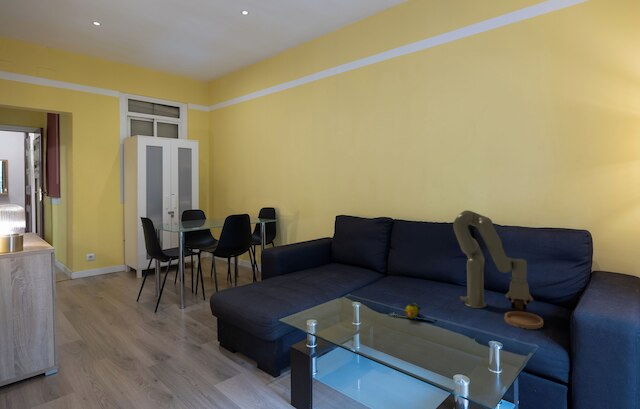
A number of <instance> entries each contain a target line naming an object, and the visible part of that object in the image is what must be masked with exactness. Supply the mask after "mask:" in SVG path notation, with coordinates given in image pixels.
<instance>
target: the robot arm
mask: <svg viewBox="0 0 640 409" xmlns="http://www.w3.org/2000/svg"><path fill="white" fill-rule="evenodd" d="M469 225H470V226H472V227H476V228H477V230H478V232H479V234H480V236H481V238H482V239H483V241H484V243H485V245H486V248H487V250H488V252H489V254H490V256H491V259H492V260H493V262H494V264H495V266H496V268H497V269H498V271H499V272H500V273H504V274H507V273H510V272H511V276H509V280H511V281H510V282H509V288H508V290H509V291H508V292H507V293H506V294H505V295H504V297H505V298H506V299H508V300H509V302H510V303H511V308H512V310H514V299H519V300H524V312H526V310H527V305H528V304H529V303H530V302H532V301H534V298H533V297H532V295H531V294H530V289H529V283H528V282H527V281H528V280H527V277H528V276H527V270H528V269H527V267H528V264H527V263H528V262H527V260H526V259H523V258H511V257H508V256H507V255H506V253H505V250H504V248H503V243H502V240H501V238H500V237H499V235H498V232H497V231H496V229H495V227H494V225H493V221H492V219H491V218H489V217H487V216H485V215H482V214H480V213H477V212H474V211H472V210H464V211H462V212H461V213H458V215H457V216H456V217H455V219H454V221H453V224H452V227H453V228H452V229H453V232H454V234H455V237H456V240H457V242H458V244H459V247H460V249H461V252H462V253H463V254H465V256H466V257H467V261H466V284H467V286H466V287H467V288H466V290H467V292H466V293H467V295H466V296H461V295H460V296H459V300H461V301H464V305H465V306H466V307H469V308H473V309H484V308H487V302H485V301H484V299H485V297H484V296H485V294H484V293H485V292H484V291H485V290H484V289H485V288H484V284H485V279H484V278H485V277H484V276H485V275H484V273H485V272H484V266H485V262H486V259H485V257H484V253H483V251H482V250H481V249H482V248H481V247H480V245H479V243H478V241H477V240H476V239H475V238H473V237H472V235H471V231H470V230H469V227H468V226H469Z"/></svg>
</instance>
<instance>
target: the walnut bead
mask: <svg viewBox="0 0 640 409" xmlns="http://www.w3.org/2000/svg"><path fill="white" fill-rule="evenodd" d="M513 311H522V312H525V311H524V300H519V299H514V309H513Z"/></svg>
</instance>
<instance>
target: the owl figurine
mask: <svg viewBox="0 0 640 409" xmlns="http://www.w3.org/2000/svg"><path fill="white" fill-rule="evenodd" d="M421 310H422V306H421V305H418V304H417V303H416V302H412V303H408V304H407V306H405V309H404V311H403V312H404V313H403V314H406V316H398V315H397V316H396V315H395V316H394V317H398V318H406V319H413V320H417V319H416V318H413V317H415V316H418V315H419V313H420V311H421ZM392 313H393V312H391V313H390V312H389V314H392ZM389 314H388V315H387V317H393V316H392V315H389ZM417 314H418V315H417Z"/></svg>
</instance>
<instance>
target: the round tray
mask: <svg viewBox="0 0 640 409" xmlns="http://www.w3.org/2000/svg"><path fill="white" fill-rule="evenodd" d="M503 318H504V319H503V320H504V321H505V323H507V324H509V325H510V326H512V325H513V327H515V326H516V328H519V327H521V328H520V329H524V328H526V329H525V330H539V329H542V328H543V327H544V326H543V325H544V319H543V318H542V317H541V316H540V315H537V314H535V313H531V312H529V311H528V312H527V311H524V312H522V311H514V310H513V311H511V310H510V311H508V312H505V313H504V317H503ZM541 327H542V328H541ZM538 328H539V329H538Z"/></svg>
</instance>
